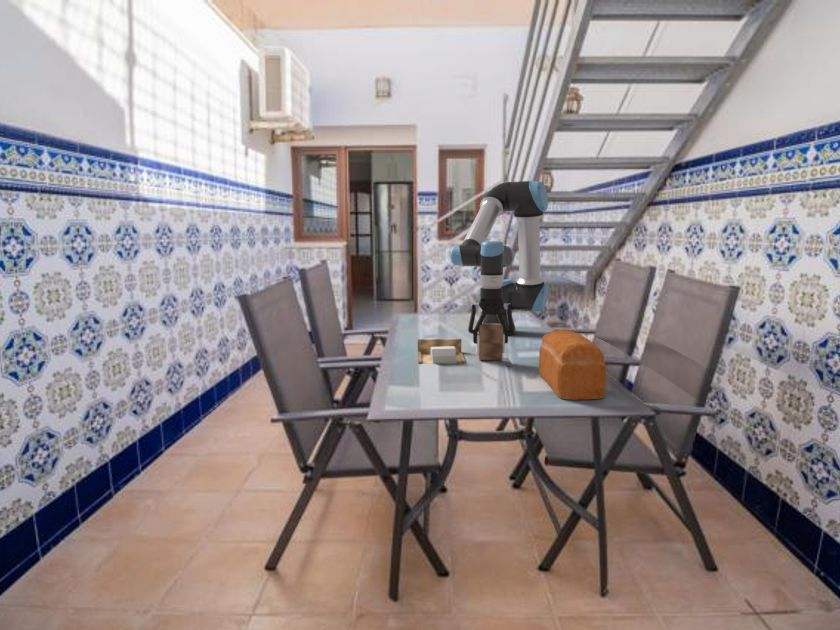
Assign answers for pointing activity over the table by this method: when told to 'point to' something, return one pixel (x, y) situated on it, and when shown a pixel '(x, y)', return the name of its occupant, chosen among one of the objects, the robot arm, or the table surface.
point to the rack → (426, 345)
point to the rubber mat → (506, 362)
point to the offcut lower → (444, 359)
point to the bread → (572, 366)
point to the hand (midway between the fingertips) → (490, 352)
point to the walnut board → (490, 341)
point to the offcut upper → (443, 351)
